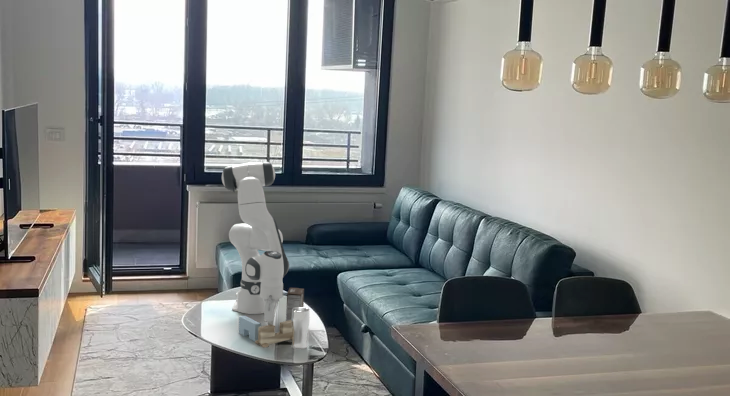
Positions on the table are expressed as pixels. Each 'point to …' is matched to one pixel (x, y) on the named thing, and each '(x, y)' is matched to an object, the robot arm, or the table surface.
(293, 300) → the coffee box
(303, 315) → the beer glass
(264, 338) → the birch rail
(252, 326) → the notched blue-grey block
